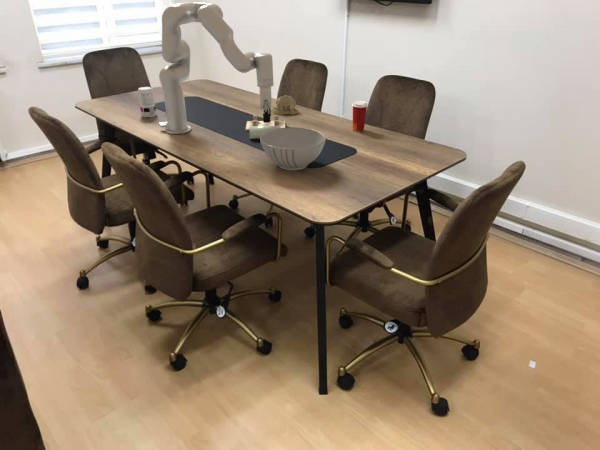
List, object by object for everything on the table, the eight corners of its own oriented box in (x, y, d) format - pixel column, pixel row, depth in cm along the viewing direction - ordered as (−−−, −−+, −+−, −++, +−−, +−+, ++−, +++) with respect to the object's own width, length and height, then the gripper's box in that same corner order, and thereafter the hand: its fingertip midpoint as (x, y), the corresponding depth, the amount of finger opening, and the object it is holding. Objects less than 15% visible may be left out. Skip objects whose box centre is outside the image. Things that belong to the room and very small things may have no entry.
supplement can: (138, 117, 255) (133, 89, 247) (148, 113, 261) (143, 85, 254) (150, 118, 252) (146, 90, 244) (160, 114, 259) (155, 87, 251)
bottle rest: (245, 130, 234) (245, 122, 232) (247, 122, 246) (246, 114, 243) (285, 130, 235) (285, 121, 233) (285, 122, 246) (285, 114, 244)
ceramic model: (294, 108, 270) (294, 91, 265) (300, 114, 260) (300, 96, 255) (270, 111, 265) (270, 93, 260) (276, 116, 256) (276, 98, 251)
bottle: (249, 140, 222) (249, 128, 219) (250, 136, 227) (250, 124, 224) (290, 140, 222) (290, 128, 220) (290, 136, 228) (290, 124, 225)
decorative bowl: (274, 182, 180) (273, 152, 174) (252, 158, 202) (251, 131, 196) (335, 171, 190) (337, 143, 184) (308, 150, 211) (309, 124, 205)
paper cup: (367, 129, 237) (369, 101, 230) (363, 133, 231) (365, 105, 224) (353, 127, 240) (355, 99, 233) (348, 131, 234) (349, 103, 227)
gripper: (257, 78, 219) (260, 114, 227) (256, 86, 204) (258, 125, 212) (273, 78, 219) (275, 113, 227) (273, 86, 204) (274, 124, 212)
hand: (267, 119), depth 220 cm, fingers open, 9 cm apart
